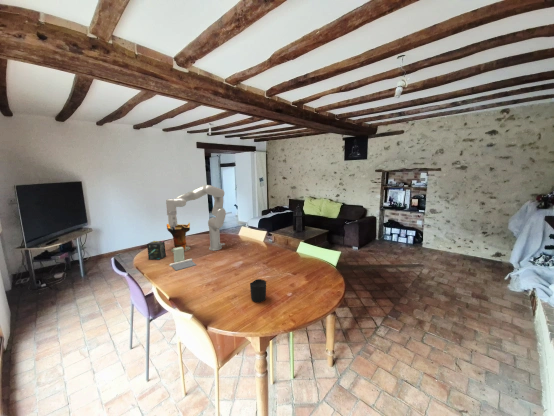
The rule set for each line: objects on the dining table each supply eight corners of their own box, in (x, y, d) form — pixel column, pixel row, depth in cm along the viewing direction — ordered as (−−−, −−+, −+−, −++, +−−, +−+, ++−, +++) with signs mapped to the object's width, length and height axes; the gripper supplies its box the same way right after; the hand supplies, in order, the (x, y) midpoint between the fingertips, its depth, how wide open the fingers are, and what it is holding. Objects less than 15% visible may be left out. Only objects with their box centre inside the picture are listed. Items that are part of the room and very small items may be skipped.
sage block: (182, 259, 196) (181, 246, 195) (184, 261, 193) (183, 248, 191) (174, 262, 192) (173, 248, 190) (176, 263, 188) (174, 249, 186)
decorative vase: (188, 252, 214) (185, 223, 210) (164, 253, 214) (160, 225, 210) (196, 245, 234) (193, 219, 230) (175, 246, 235) (171, 220, 231)
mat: (191, 261, 193) (191, 260, 193) (196, 265, 184) (196, 264, 184) (171, 266, 183) (171, 265, 183) (176, 270, 174) (175, 270, 174)
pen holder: (267, 301, 130) (267, 285, 129) (251, 304, 128) (250, 287, 127) (265, 293, 139) (264, 278, 138) (249, 295, 137) (249, 280, 136)
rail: (191, 260, 195) (191, 258, 195) (192, 260, 194) (192, 259, 194) (169, 265, 184) (169, 264, 184) (170, 266, 182) (170, 264, 182)
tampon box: (166, 256, 206) (164, 240, 204) (160, 260, 197) (158, 243, 195) (155, 255, 207) (153, 240, 205) (148, 259, 198) (146, 243, 196)
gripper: (179, 213, 190) (180, 234, 193) (173, 211, 202) (175, 231, 204) (169, 214, 186) (171, 236, 188) (164, 212, 197) (166, 233, 199)
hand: (173, 233), depth 196 cm, fingers closed
